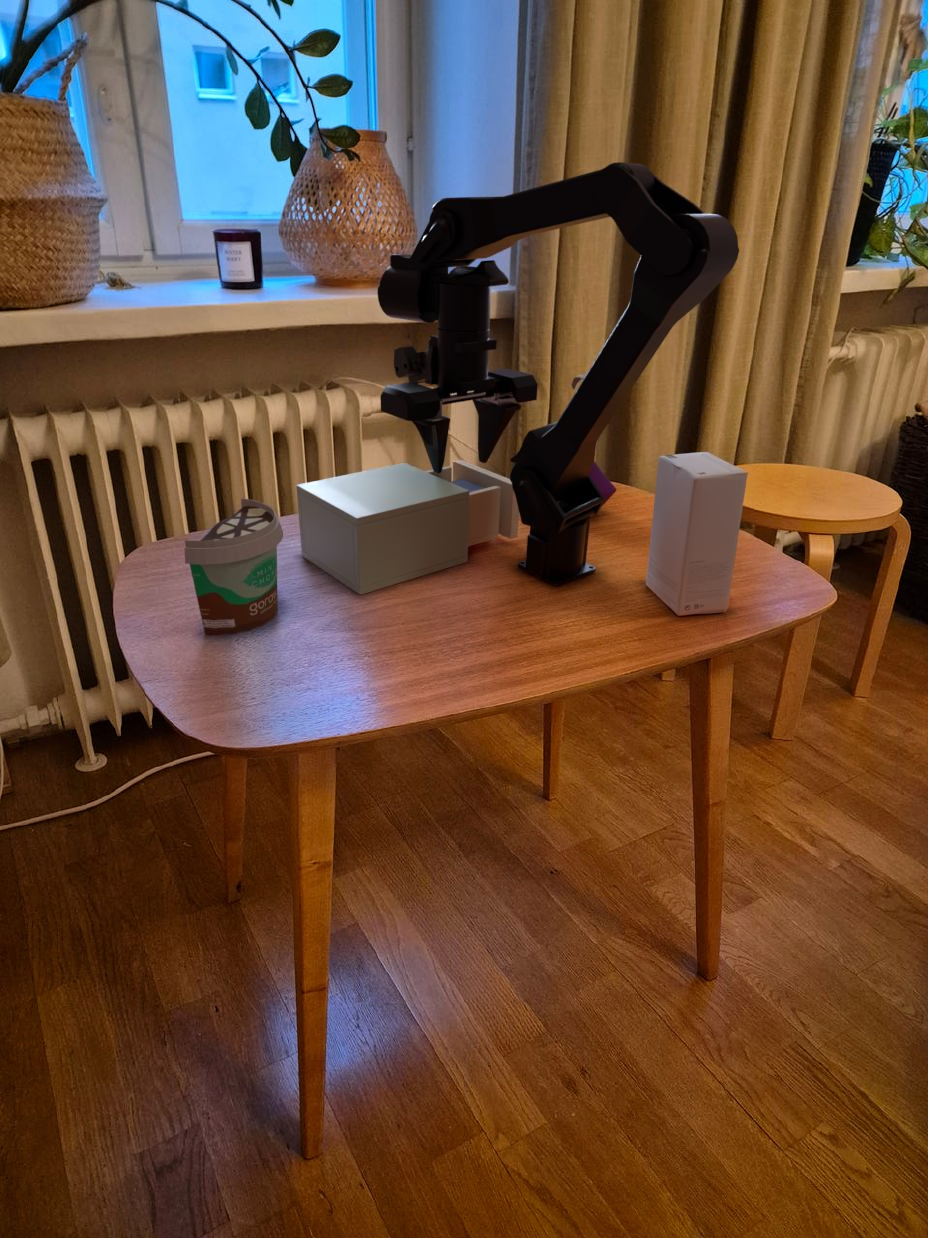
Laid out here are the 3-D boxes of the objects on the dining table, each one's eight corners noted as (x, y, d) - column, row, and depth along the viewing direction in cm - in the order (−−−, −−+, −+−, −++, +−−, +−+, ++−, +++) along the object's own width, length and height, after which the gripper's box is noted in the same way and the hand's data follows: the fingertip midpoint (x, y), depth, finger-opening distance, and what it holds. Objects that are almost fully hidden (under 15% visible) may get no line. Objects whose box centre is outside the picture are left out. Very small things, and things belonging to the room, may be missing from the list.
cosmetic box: (727, 613, 82) (755, 473, 75) (673, 618, 81) (697, 476, 74) (689, 578, 89) (711, 448, 82) (639, 583, 88) (657, 451, 81)
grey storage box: (405, 528, 100) (404, 462, 96) (467, 561, 92) (469, 490, 88) (301, 556, 92) (296, 484, 88) (360, 595, 84) (356, 518, 80)
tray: (484, 503, 107) (486, 453, 103) (543, 529, 99) (547, 476, 96) (372, 532, 97) (370, 478, 93) (428, 564, 89) (428, 506, 86)
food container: (258, 649, 73) (247, 549, 69) (197, 641, 74) (181, 542, 70) (308, 592, 84) (301, 502, 79) (253, 585, 85) (243, 496, 80)
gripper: (481, 313, 97) (477, 439, 105) (350, 324, 87) (356, 463, 94) (545, 325, 90) (536, 460, 97) (409, 339, 79) (411, 489, 87)
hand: (460, 467), depth 94 cm, fingers open, 6 cm apart
